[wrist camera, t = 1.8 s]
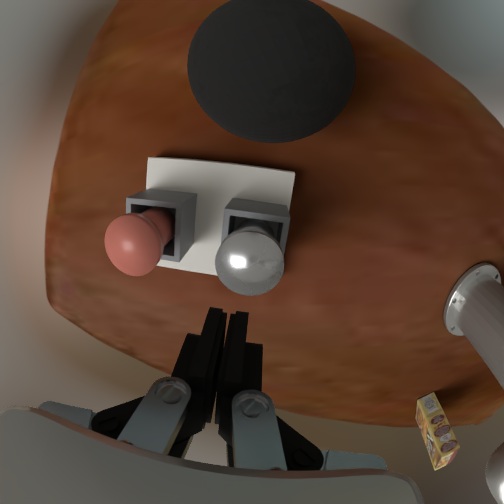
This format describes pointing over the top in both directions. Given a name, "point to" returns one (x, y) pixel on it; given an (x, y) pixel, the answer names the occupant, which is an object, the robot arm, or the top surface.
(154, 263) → the red plunger
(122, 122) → the top surface
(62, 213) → the top surface
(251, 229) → the steel plunger
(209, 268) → the button panel
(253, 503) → the robot arm
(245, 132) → the decorative egg
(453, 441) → the candy box
